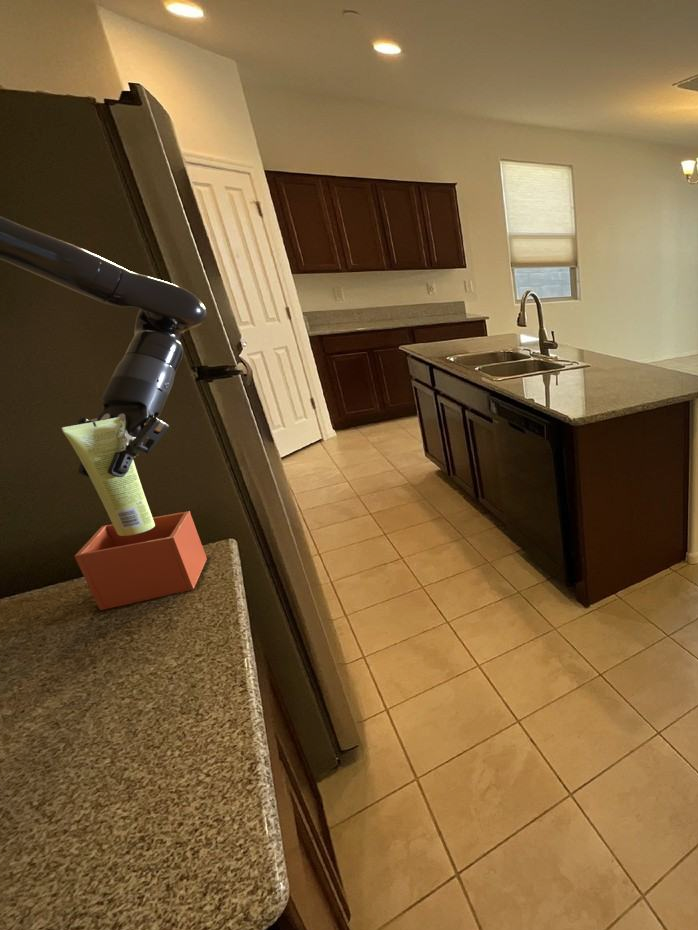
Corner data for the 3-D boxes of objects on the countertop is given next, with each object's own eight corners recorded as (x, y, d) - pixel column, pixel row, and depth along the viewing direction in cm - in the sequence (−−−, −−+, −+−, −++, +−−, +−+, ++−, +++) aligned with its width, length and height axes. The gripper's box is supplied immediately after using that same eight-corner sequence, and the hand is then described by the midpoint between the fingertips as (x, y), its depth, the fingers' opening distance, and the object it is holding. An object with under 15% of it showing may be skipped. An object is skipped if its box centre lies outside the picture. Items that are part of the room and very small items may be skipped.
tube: (129, 525, 92) (83, 418, 85) (163, 520, 94) (121, 415, 87) (110, 539, 87) (60, 427, 80) (147, 534, 89) (101, 424, 82)
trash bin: (100, 612, 87) (74, 556, 83) (124, 578, 97) (101, 526, 93) (194, 591, 92) (173, 537, 88) (207, 560, 102) (189, 510, 98)
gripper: (79, 374, 88) (32, 466, 81) (162, 373, 88) (122, 465, 81) (120, 398, 95) (81, 484, 88) (197, 397, 95) (163, 484, 88)
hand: (101, 474), depth 85 cm, fingers closed on tube, 4 cm apart
